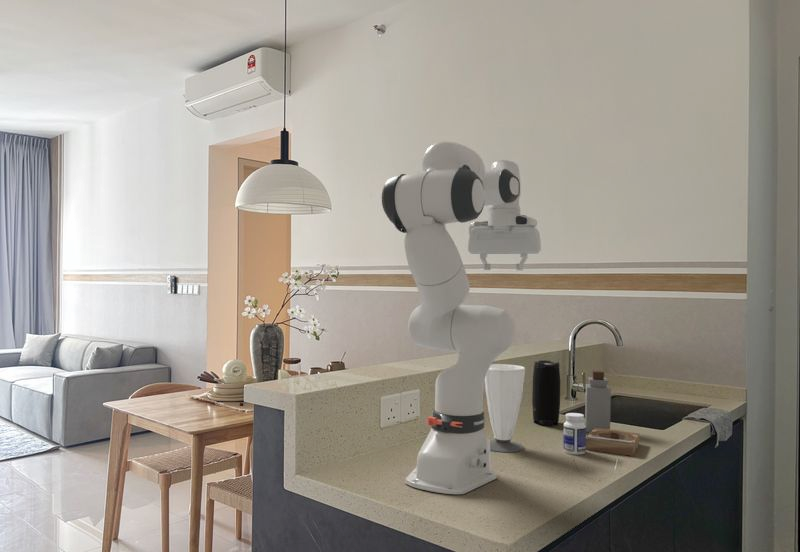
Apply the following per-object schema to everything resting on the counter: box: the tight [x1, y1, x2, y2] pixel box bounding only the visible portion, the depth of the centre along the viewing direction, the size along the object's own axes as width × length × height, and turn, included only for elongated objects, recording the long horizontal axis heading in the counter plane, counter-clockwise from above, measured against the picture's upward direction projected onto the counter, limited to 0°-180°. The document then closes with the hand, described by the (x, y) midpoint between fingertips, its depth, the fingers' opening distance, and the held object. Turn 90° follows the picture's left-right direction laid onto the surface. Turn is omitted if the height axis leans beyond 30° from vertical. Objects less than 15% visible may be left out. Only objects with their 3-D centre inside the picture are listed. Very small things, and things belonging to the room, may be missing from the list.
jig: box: [586, 428, 640, 457], centre depth 165 cm, size 14×12×3 cm
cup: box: [484, 363, 526, 454], centre depth 163 cm, size 12×12×22 cm
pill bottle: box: [562, 412, 587, 456], centre depth 159 cm, size 6×6×10 cm
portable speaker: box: [531, 359, 561, 427], centre depth 191 cm, size 9×9×20 cm
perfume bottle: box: [584, 370, 612, 434], centre depth 183 cm, size 7×7×18 cm
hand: (503, 270), depth 167 cm, fingers open, 8 cm apart
